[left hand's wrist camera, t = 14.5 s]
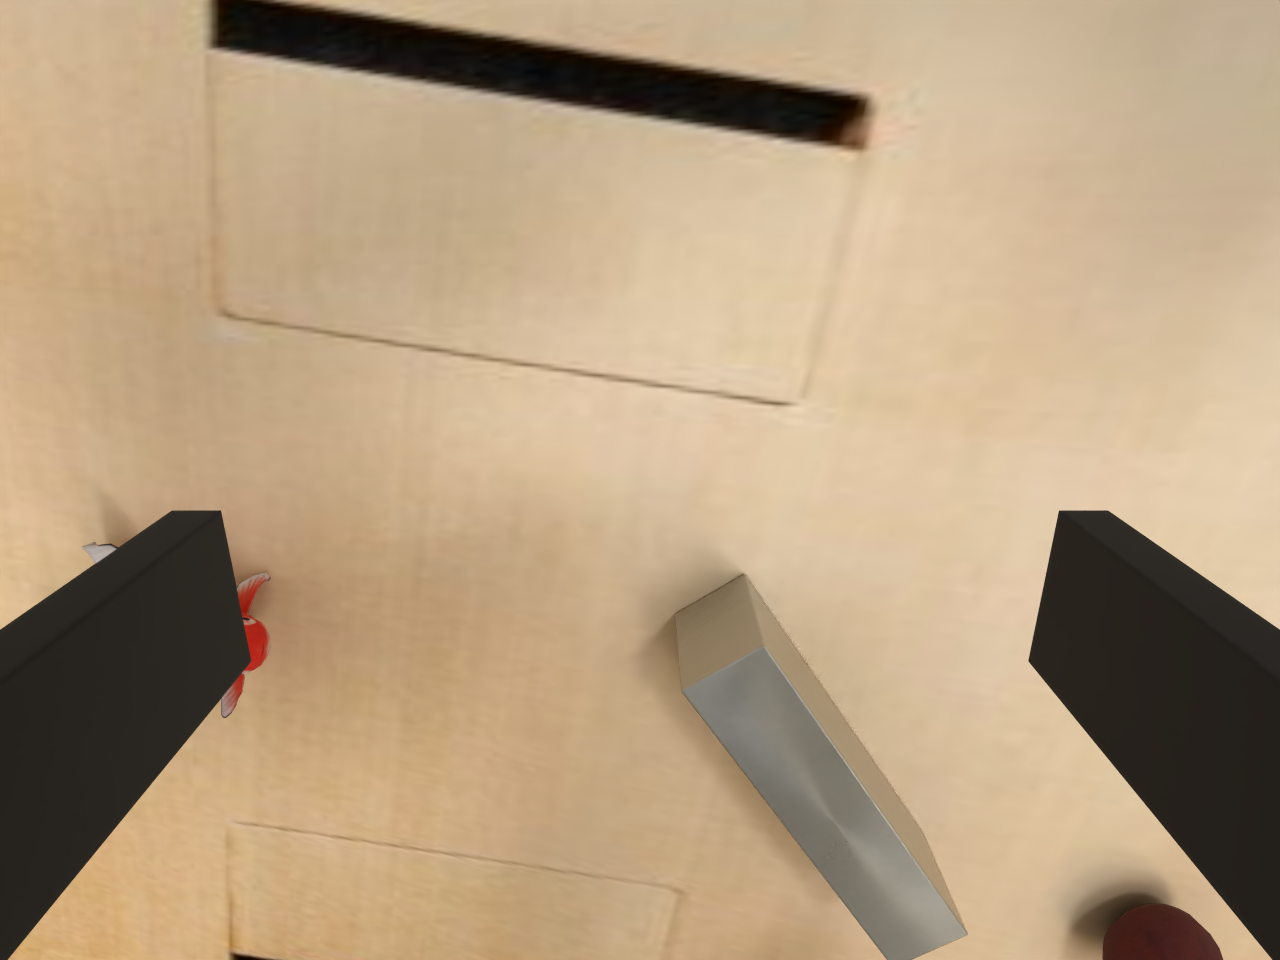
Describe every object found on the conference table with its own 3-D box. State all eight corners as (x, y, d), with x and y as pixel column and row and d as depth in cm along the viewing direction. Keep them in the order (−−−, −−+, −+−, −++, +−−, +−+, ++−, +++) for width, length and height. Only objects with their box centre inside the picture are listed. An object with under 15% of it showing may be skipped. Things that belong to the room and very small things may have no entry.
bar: (674, 613, 49) (680, 691, 41) (744, 573, 48) (764, 645, 40) (859, 863, 56) (893, 968, 48) (923, 832, 55) (968, 935, 47)
